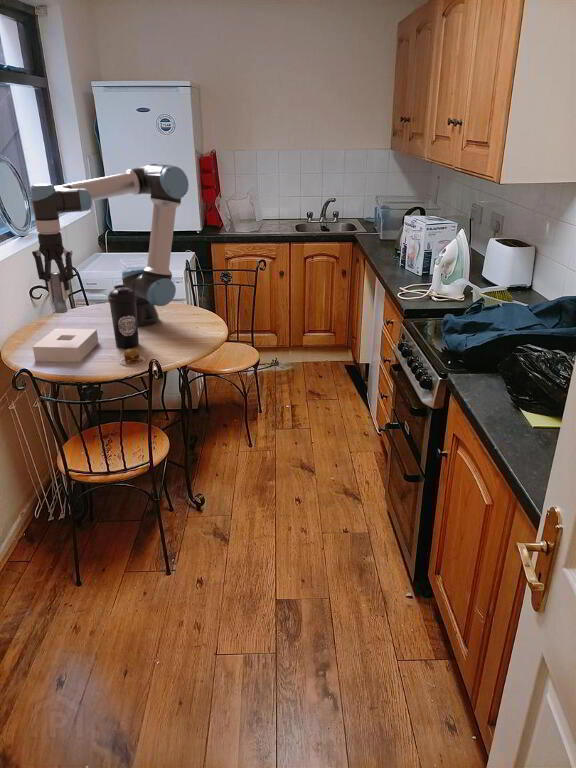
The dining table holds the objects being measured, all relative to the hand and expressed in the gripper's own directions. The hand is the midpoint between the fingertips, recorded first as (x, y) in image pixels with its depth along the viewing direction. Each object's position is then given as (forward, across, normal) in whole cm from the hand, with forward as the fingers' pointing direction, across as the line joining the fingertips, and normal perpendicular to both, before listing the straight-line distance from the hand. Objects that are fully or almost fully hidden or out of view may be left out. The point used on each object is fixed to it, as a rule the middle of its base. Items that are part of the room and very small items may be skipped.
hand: (59, 298), depth 200 cm
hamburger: (+21, -27, +8) cm, 35 cm away
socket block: (+20, 0, 0) cm, 20 cm away
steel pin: (+5, 0, 0) cm, 5 cm away
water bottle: (+20, -20, -8) cm, 30 cm away
